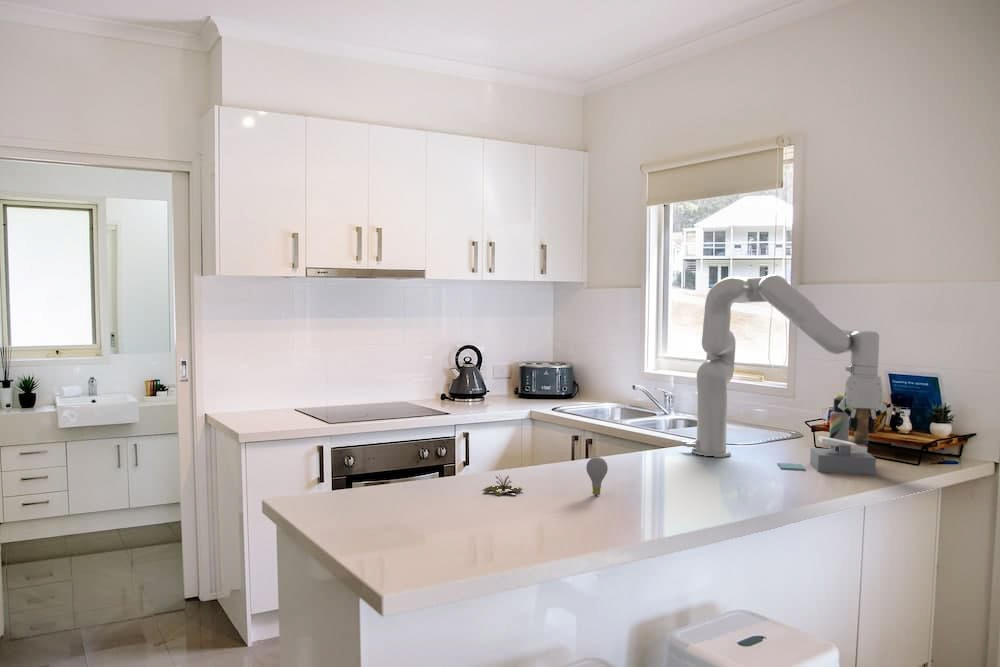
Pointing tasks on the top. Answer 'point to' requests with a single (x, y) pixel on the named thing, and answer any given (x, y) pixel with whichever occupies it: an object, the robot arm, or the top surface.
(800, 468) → the mat
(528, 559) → the top surface
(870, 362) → the robot arm
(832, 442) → the breaker rocker
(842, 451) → the box
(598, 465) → the light bulb
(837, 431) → the lotion bottle
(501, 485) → the flowering plant
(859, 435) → the brown wooden block
